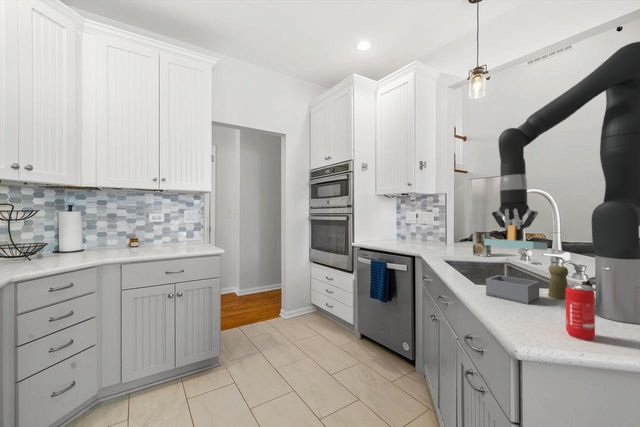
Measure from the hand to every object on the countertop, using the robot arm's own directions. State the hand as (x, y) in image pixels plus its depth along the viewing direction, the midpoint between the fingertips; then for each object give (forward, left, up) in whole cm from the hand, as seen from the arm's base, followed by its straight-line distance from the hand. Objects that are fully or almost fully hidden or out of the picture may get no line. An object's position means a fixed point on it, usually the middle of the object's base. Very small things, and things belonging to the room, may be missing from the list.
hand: (514, 240), depth 95 cm
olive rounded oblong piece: (-7, -17, -21) cm, 28 cm away
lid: (0, 0, -2) cm, 2 cm away
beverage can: (-20, +17, -21) cm, 34 cm away
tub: (+3, -5, -21) cm, 22 cm away
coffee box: (+53, -90, -21) cm, 106 cm away
